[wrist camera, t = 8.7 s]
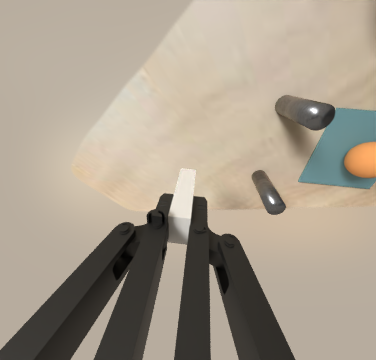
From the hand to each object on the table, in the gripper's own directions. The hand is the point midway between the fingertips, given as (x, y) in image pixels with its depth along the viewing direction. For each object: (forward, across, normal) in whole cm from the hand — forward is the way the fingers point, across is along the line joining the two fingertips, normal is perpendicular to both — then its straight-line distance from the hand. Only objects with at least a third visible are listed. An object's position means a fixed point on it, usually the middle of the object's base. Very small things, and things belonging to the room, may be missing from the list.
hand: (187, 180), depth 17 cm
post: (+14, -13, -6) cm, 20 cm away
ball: (+11, -27, 0) cm, 29 cm away
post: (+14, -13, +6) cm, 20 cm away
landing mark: (+14, -27, 0) cm, 30 cm away
